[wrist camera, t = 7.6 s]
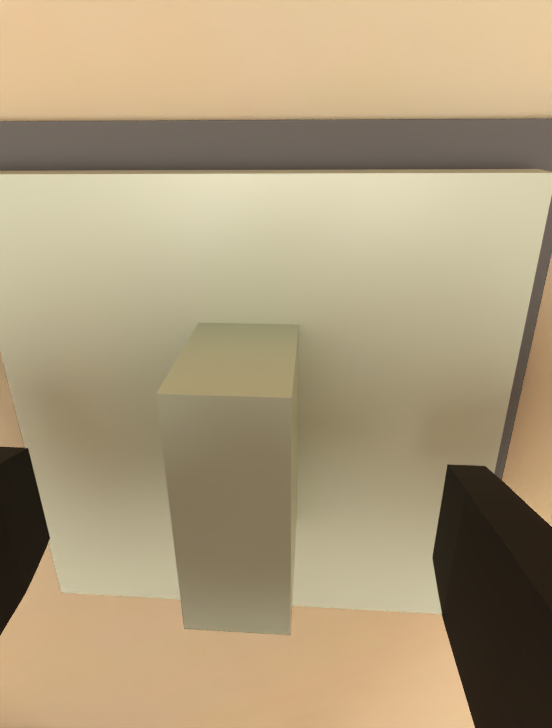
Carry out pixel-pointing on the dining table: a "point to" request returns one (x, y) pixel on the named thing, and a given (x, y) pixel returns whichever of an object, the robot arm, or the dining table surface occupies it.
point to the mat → (298, 162)
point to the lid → (261, 374)
